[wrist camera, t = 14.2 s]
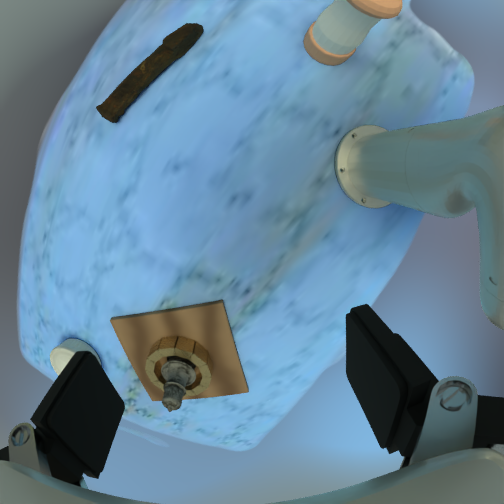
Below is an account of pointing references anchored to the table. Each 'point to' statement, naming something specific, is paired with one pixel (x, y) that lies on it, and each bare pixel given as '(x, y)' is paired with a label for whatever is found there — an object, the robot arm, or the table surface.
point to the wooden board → (190, 326)
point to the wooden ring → (185, 350)
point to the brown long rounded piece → (149, 70)
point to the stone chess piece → (176, 380)
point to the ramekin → (68, 353)
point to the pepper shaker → (346, 28)
